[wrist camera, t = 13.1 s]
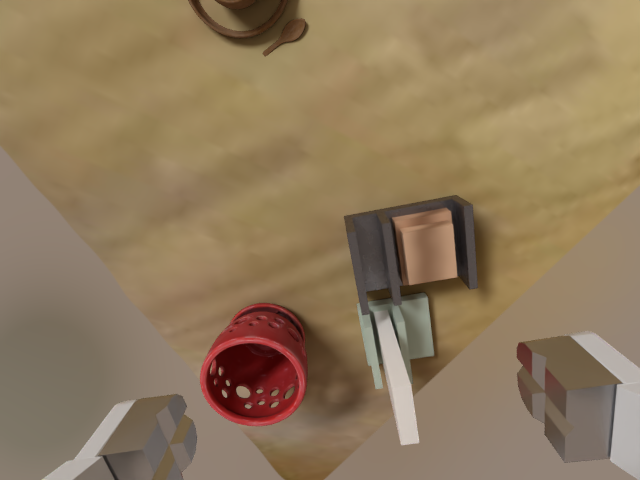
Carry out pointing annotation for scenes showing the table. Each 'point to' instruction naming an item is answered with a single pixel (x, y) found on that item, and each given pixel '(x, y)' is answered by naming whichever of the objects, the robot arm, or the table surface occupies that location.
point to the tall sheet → (396, 379)
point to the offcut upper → (429, 252)
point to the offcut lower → (415, 221)
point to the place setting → (289, 32)
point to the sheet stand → (399, 331)
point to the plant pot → (257, 365)
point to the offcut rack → (380, 249)
